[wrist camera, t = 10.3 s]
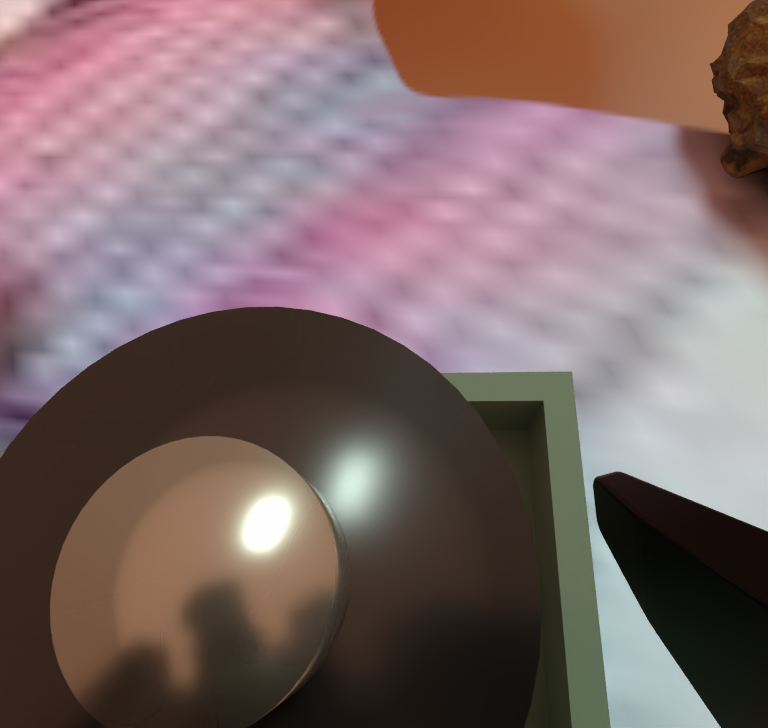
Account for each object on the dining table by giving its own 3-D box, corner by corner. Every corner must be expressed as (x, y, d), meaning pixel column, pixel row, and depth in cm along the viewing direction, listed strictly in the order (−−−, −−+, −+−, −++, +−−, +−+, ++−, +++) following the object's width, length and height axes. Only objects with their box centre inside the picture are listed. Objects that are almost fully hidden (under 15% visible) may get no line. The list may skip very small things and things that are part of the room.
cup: (583, 812, 14) (626, 875, 11) (180, 789, 15) (111, 842, 12) (548, 410, 18) (571, 371, 15) (228, 412, 19) (186, 376, 16)
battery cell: (448, 710, 15) (508, 1273, 3) (266, 660, 16) (-336, 917, 3) (480, 515, 17) (605, 310, 4) (314, 479, 18) (28, 220, 5)
